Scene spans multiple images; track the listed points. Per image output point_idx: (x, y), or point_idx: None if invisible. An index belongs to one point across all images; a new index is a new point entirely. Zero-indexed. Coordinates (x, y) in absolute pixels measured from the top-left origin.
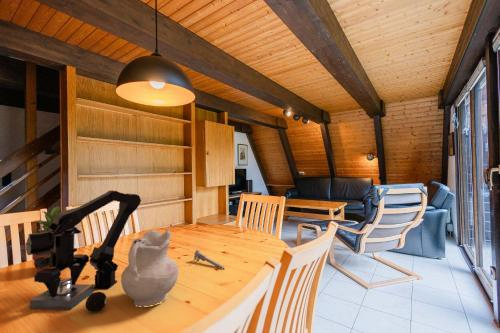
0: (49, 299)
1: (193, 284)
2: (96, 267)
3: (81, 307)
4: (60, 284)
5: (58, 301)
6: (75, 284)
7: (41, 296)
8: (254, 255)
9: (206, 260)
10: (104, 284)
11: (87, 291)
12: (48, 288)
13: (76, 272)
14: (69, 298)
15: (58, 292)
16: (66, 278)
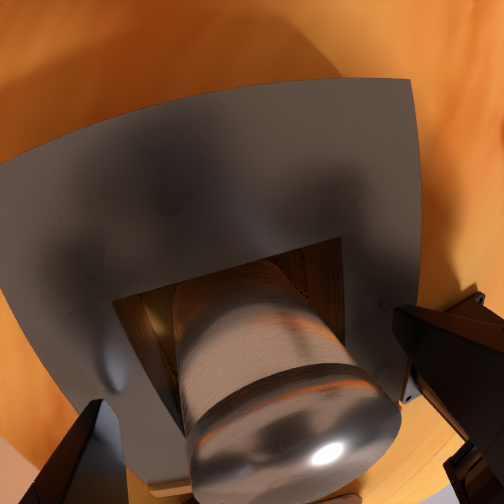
0: (75, 380)
1: (390, 501)
2: (476, 491)
3: None
4: (204, 499)
5: None
6: (415, 295)
7: (60, 221)
8: None
9: None
10: (423, 390)
11: None
12: (38, 497)
13: (486, 424)
14: (175, 475)
15: (180, 396)
16: (392, 420)
